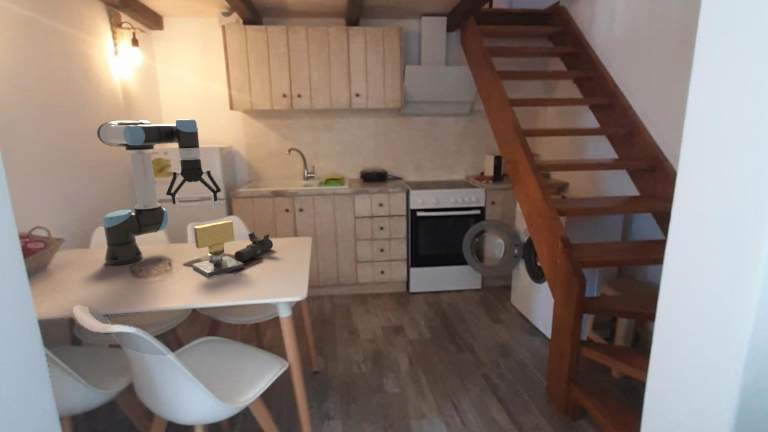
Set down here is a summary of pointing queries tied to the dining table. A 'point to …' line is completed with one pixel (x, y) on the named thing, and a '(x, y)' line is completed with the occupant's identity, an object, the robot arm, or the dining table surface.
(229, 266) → the post base
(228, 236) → the lever handle
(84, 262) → the dining table surface
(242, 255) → the laser sight
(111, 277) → the dining table surface
